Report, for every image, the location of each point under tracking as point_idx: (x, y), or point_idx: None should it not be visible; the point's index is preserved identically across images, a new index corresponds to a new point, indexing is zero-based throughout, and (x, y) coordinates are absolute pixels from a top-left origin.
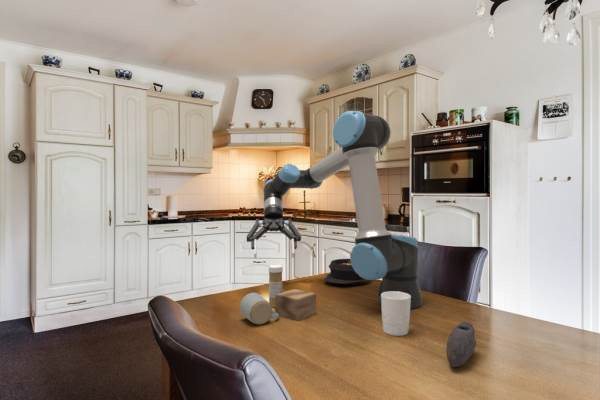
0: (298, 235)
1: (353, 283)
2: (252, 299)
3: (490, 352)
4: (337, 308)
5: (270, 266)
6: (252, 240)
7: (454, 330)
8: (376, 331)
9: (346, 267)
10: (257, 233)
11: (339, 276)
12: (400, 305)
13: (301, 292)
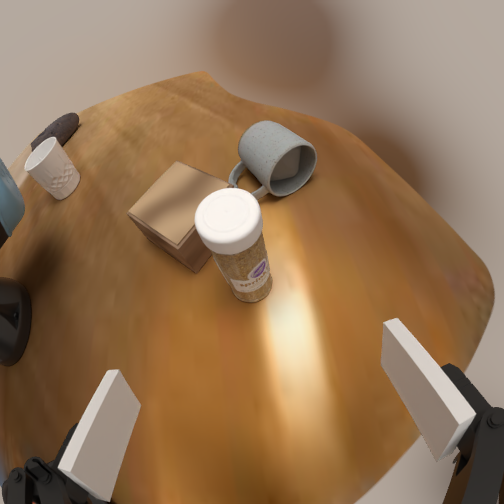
0: (19, 484)
1: None
2: (280, 127)
3: None
4: (100, 278)
5: (249, 196)
6: (483, 413)
7: (51, 127)
8: (86, 179)
9: None
10: (485, 491)
11: None
12: (51, 145)
13: (159, 212)
